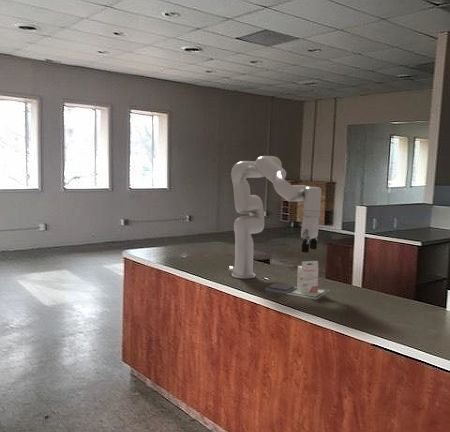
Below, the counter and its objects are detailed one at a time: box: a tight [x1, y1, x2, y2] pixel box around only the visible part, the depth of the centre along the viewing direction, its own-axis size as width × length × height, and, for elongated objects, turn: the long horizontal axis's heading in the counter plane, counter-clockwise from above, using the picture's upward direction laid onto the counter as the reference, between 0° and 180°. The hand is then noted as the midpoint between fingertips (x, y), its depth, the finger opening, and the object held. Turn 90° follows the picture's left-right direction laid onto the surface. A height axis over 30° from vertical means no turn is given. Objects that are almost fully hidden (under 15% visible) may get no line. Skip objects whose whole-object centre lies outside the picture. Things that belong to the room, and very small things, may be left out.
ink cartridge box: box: [296, 260, 319, 293], centre depth 226 cm, size 9×5×15 cm, turn 105°
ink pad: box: [265, 282, 297, 295], centre depth 230 cm, size 11×10×2 cm
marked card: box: [286, 287, 330, 300], centre depth 226 cm, size 14×17×1 cm
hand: (309, 250), depth 224 cm, fingers open, 9 cm apart
